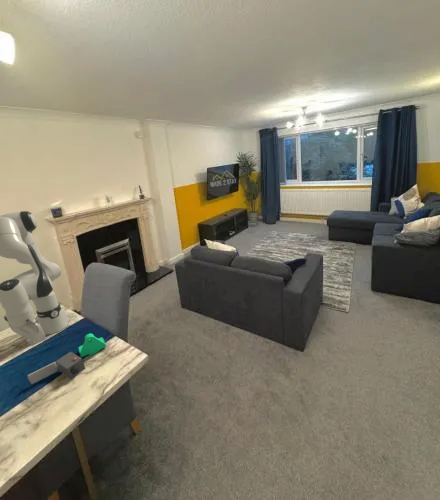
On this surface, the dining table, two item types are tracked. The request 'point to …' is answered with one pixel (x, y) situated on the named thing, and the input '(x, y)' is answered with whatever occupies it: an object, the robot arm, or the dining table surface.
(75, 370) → the camera housing
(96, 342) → the camera mount
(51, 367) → the side door
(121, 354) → the dining table surface
